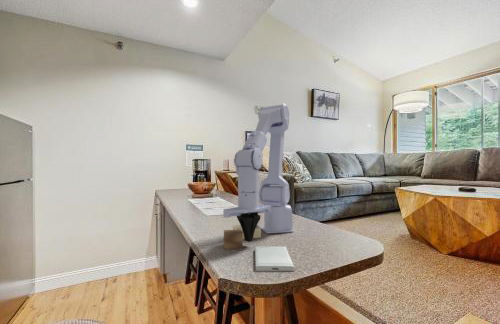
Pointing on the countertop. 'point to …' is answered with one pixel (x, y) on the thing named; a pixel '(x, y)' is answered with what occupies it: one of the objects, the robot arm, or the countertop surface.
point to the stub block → (233, 239)
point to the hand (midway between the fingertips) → (248, 240)
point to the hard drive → (273, 259)
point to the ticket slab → (256, 233)
